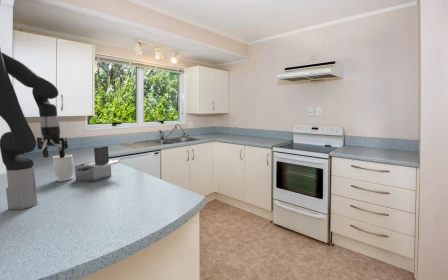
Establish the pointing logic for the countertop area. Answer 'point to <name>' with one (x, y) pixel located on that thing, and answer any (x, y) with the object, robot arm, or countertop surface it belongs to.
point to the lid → (101, 158)
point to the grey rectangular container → (91, 172)
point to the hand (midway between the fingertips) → (54, 157)
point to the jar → (63, 167)
